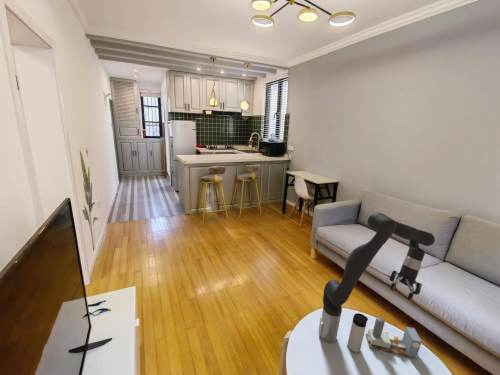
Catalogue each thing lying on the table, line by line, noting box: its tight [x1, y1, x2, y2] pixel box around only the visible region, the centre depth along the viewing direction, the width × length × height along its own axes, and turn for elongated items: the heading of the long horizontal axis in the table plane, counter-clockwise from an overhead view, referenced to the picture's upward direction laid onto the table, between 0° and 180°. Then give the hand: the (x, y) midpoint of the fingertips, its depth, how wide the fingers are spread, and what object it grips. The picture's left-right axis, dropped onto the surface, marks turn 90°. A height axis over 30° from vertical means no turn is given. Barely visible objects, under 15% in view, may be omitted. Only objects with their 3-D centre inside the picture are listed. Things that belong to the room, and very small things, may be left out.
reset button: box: [393, 335, 402, 345], centre depth 123 cm, size 3×4×4 cm
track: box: [365, 333, 418, 360], centre depth 125 cm, size 22×8×2 cm, turn 77°
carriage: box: [367, 316, 391, 348], centre depth 124 cm, size 9×7×13 cm
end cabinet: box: [401, 326, 423, 357], centre depth 121 cm, size 4×8×10 cm, turn 167°
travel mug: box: [346, 312, 369, 354], centre depth 120 cm, size 6×7×20 cm
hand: (400, 294), depth 125 cm, fingers open, 8 cm apart
